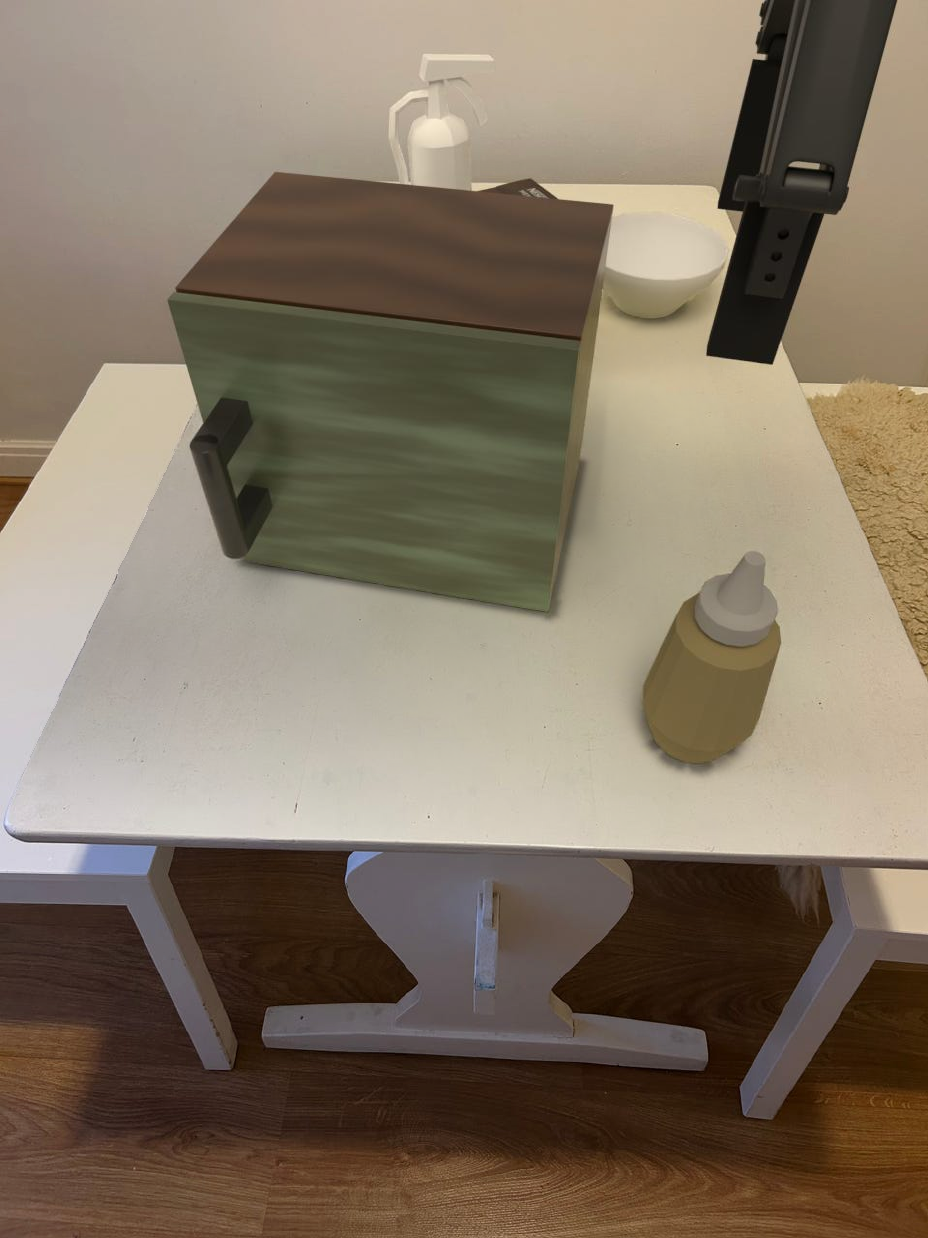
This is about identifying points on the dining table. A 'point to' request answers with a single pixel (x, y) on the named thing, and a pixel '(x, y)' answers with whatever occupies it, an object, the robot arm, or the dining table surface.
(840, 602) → the dining table surface
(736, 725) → the squeeze bottle
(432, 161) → the fire extinguisher
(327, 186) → the cupboard
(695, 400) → the dining table surface
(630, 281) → the bowl
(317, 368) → the cupboard door
